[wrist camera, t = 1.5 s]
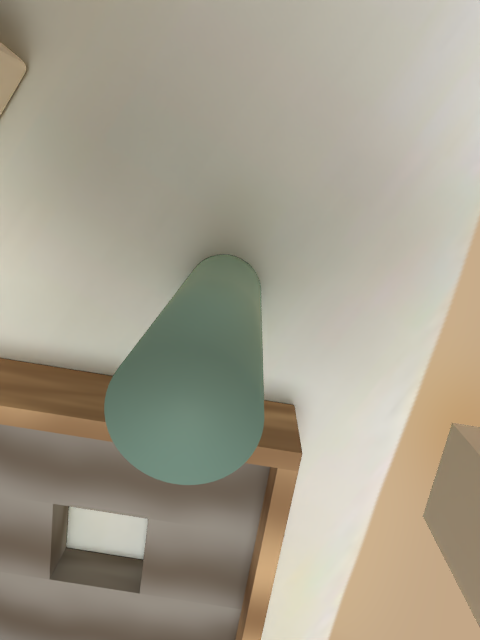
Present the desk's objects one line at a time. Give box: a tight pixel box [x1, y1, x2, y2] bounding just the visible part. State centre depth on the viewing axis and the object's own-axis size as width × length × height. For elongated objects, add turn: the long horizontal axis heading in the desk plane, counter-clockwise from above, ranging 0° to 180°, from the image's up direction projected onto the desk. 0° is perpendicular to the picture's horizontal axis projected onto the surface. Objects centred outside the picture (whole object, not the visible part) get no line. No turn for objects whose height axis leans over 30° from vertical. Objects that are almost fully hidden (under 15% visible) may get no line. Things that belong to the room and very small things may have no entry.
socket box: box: [0, 358, 302, 640], centre depth 27 cm, size 20×20×5 cm
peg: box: [104, 255, 264, 485], centre depth 18 cm, size 4×4×14 cm
